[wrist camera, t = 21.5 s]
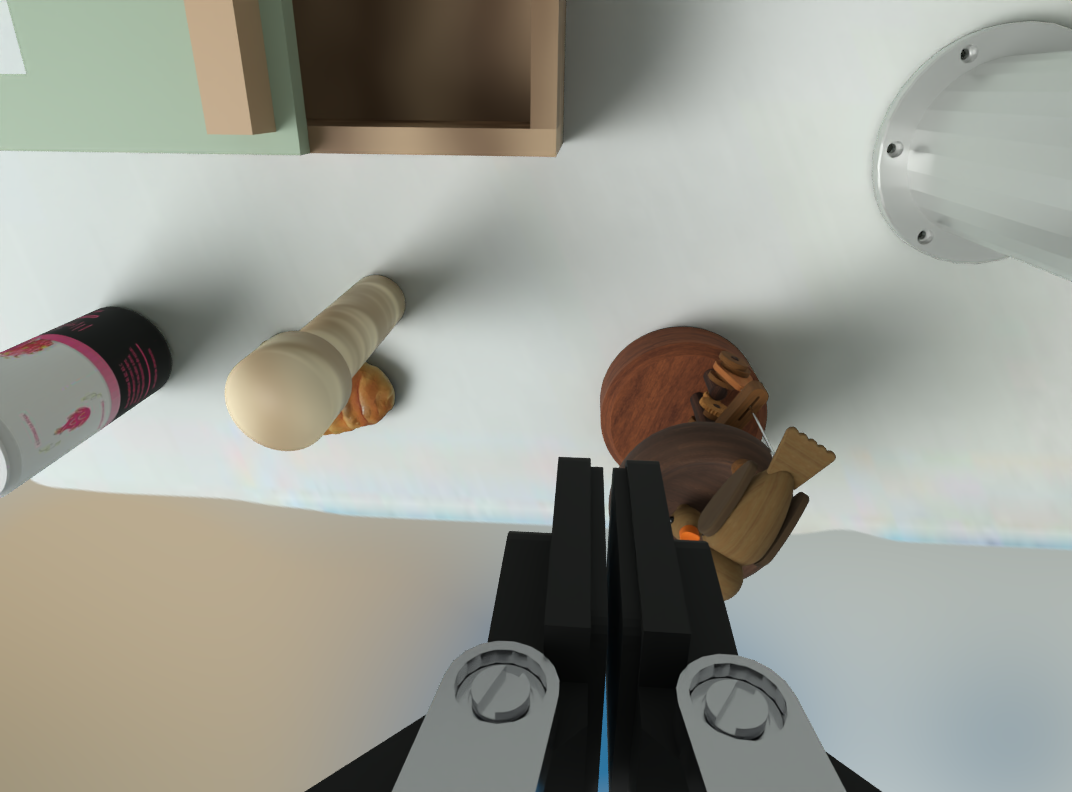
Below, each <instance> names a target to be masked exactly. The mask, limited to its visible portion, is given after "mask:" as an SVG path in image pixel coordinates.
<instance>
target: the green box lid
mask: <svg viewBox="0 0 1072 792" xmlns="http://www.w3.org/2000/svg"><path fill="white" fill-rule="evenodd" d="M7 4H8V7H9V11H10V15H11V18H12V22H13V26H14V30H15V33H16V37H17V41H18V44H19V48H20V52H21V56H22V59H23V63H24V67H25V70H26V74H0V151H58V152H123V153H187V154H251V155H304V154H308V153H310V147H309V139H308V130H307V122H306V114H305V105H304V97H303V89H302V80H301V72H300V64H299V55H298V47H297V39H296V30H295V22H294V14H293V5H292V0H7Z"/></svg>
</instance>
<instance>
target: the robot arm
mask: <svg viewBox="0 0 1072 792" xmlns="http://www.w3.org/2000/svg"><path fill="white" fill-rule="evenodd" d="M962 50H964V51H965V57H964V58H963V59H962V60H961V52H962ZM889 144H892V145H893V149H892V151H891V152H890V153H887V148H888V146H889ZM872 180H873V187H874V194H875V198H876V201H877V203H878V206H879V209H880V211H881V214H882V216H883V217H884V219H885V220H886V222H887V223H888V225H889V226H890V228H891V230H892V231H893V232H894V233H896V234H897V235H898V236H899V237H900V238H901V239H902V240H903V241H904V242H905V243H906V244H908V245H910V246H911V247H913V248H915V249H917V250H918V251H920V252H922V253H924V254H926V255H929V256H931V257H933V258H936V259H939V260H944V261H948V262H953V263H967V264H979V263H985V262H992V261H999V260H1002V259H1005V258H1008V257H1012V258H1014V259H1017V260H1019V261H1022V262H1024V263H1027V264H1029V265H1032V266H1034V267H1037V268H1039V269H1041V270H1044V271H1046V272H1049V273H1051V274H1054V275H1056V276H1059V277H1061V278H1064V279H1066V280H1069V281H1071V282H1072V29H1070V28H1067V27H1064V26H1061V25H1059V24H1056V23H1047V22H1038V21H1025V22H1014V23H1006V24H1001V25H997V26H992V27H987V28H984V29H982V30H979V31H977V32H974V33H972V34H969V35H966V36H964V37H962V38H960V39H958V40H957V41H955V42H953V43H952V44H950V45H948V46H947V47H945V48H943V49H942V50H940V51H939V52H938V53H936V54H935V55H934V56H933V57H932V58H930V59H929V60H928V61H927V62H926V63H924V64H923V65H922V66H921V67H920V68H919V69H918V70H917V71H916V72H915V73H914V74H913V75H912V77H911V78H910V79H909V80H908V81H907V82H906V83H905V85H904V86H903V87H902V88H901V90H900V91H899V93H898V94H897V96H896V98H895V99H894V101H893V102H892V104H891V105H890V107H889V109H888V111H887V113H886V115H885V118H884V120H883V122H882V125H881V127H880V129H879V132H878V136H877V140H876V144H875V148H874V152H873V165H872ZM921 231H923V234H922V236H921V237H920V238H918V235H919V233H920V232H921ZM605 540H606V539H605V509H604V480H603V467H591V459H590V458H572V457H559V459H558V470H557V481H556V493H555V505H554V516H553V528H552V533H536V532H516V531H509V533H508V536H507V541H506V546H505V552H504V557H503V562H502V568H501V574H500V578H499V584H498V589H497V595H496V600H495V606H494V611H493V616H492V621H491V627H490V633H489V638H488V643H483V644H480V645H477V646H475V647H473V648H471V649H468V650H466V651H465V652H463V653H462V654H461V655H460V656H459V657H457V658H456V659H455V660H453V662H452V663H451V665H450V666H449V668H448V669H447V671H446V673H445V674H444V676H443V678H442V681H441V683H440V685H439V687H438V689H437V692H436V694H435V696H434V698H433V701H432V703H431V705H430V707H429V709H428V712H427V714H426V715H425V716H423V717H422V718H420V719H418V720H417V721H415V722H414V723H413V724H411V725H409V726H407V727H406V728H404V729H403V730H401V731H400V732H398V733H397V734H395V735H393V736H392V737H390V738H388V739H387V740H386V741H384V742H382V743H381V744H379V745H378V746H376V747H374V748H373V749H371V750H370V751H368V752H367V753H365V754H363V755H362V756H360V757H359V758H357V759H356V760H354V761H352V762H351V763H349V764H348V765H346V766H344V767H343V768H341V769H340V770H338V771H337V772H335V773H334V774H332V775H330V776H329V777H327V778H326V779H324V780H322V781H321V782H319V783H318V784H316V785H314V786H313V787H311V788H310V789H308V790H307V791H305V792H598V779H599V764H600V749H601V734H602V719H603V704H604V689H605V675H606V696H607V697H606V699H607V737H608V771H609V772H608V773H609V792H881V791H880V790H879V789H877V788H876V787H874V786H873V785H872V784H870V783H869V782H868V781H866V780H864V779H863V778H862V777H860V776H859V775H858V774H856V773H855V772H853V771H852V770H851V769H849V768H848V767H846V766H845V765H844V764H842V763H841V762H839V761H838V760H836V759H835V758H834V757H832V756H831V755H830V754H828V753H827V752H825V750H824V748H823V746H822V744H821V742H820V741H819V739H818V737H817V735H816V733H815V731H814V729H813V727H812V725H811V723H810V721H809V720H808V718H807V716H806V714H805V712H804V710H803V708H802V706H801V704H800V702H799V701H798V698H797V697H796V695H795V694H794V692H793V691H792V689H791V688H790V687H789V686H788V684H787V683H786V681H785V680H783V679H782V678H781V677H780V676H779V675H777V674H776V673H775V672H774V671H772V670H771V669H770V668H768V667H766V666H764V665H762V664H760V663H758V662H756V661H755V660H751V659H748V658H744V657H741V656H738V653H737V649H736V645H735V641H734V638H733V634H732V630H731V626H730V622H729V619H728V615H727V611H726V607H725V603H724V599H723V595H722V592H721V588H720V584H719V580H718V576H717V573H716V569H715V565H714V561H713V557H712V553H711V550H710V547H709V544H708V542H706V541H696V540H676V539H674V538H673V533H672V527H671V522H670V517H669V511H668V506H667V500H666V495H665V490H664V484H663V479H662V474H661V468H660V463H659V461H642V460H626V462H625V468H613V473H612V488H611V504H610V520H609V536H608V552H607V567H606V541H605Z"/></svg>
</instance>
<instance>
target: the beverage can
mask: <svg viewBox="0 0 1072 792" xmlns="http://www.w3.org/2000/svg"><path fill="white" fill-rule="evenodd" d="M171 368H172V359H171V353H170V349H169V347H168V344H167V342H166V340H165V338H164V337H163V335H162V334H161V332H160V331H159V330H158V329H157V328H156V327H155V326H154V325H153V324H152V323H151V322H150V321H149V320H148V319H146V318H145V317H143V316H142V315H140V314H138V313H136V312H134V311H131V310H129V309H125V308H120V307H105V308H100V309H98V310H95V311H93V312H91V313H88V314H86V315H84V316H82V317H79V318H77V319H75V320H73V321H70V322H68V323H66V324H64V325H61V326H59V327H57V328H55V329H52V330H50V331H48V332H46V333H43V334H41V335H39V336H37V337H34V338H32V339H30V340H28V341H25V342H23V343H21V344H19V345H16V346H14V347H12V348H10V349H7V350H5V351H3V352H1V353H0V498H1V497H4V496H5V495H7V494H9V493H10V492H11V491H13V490H14V489H16V488H17V487H18V486H20V485H22V484H23V483H24V482H25V481H27V480H29V479H30V478H32V477H33V476H35V475H36V474H37V473H39V472H40V471H42V470H43V469H45V468H46V467H48V466H49V465H50V464H52V463H53V462H55V461H56V460H58V459H59V458H61V457H62V456H63V455H65V454H66V453H68V452H69V451H71V450H72V449H74V448H75V447H76V446H78V445H79V444H81V443H82V442H84V441H85V440H87V439H88V438H89V437H91V436H92V435H94V434H95V433H97V432H98V431H100V430H101V429H102V428H104V427H105V426H107V425H108V424H110V423H111V422H113V421H114V420H115V419H117V418H118V417H120V416H121V415H123V414H124V413H125V412H127V411H128V410H130V409H131V408H133V407H134V406H136V405H137V404H138V403H140V402H141V401H143V400H144V399H146V398H147V397H149V396H150V395H151V394H153V393H154V392H156V391H157V390H159V389H160V388H161V387H162V386H163V385H164V384H165V383H166V381H167V380H168V378H169V376H170V373H171Z"/></svg>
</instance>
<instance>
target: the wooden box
mask: <svg viewBox="0 0 1072 792" xmlns="http://www.w3.org/2000/svg"><path fill="white" fill-rule="evenodd" d="M292 5H293V14H294V22H295V30H296V39H297V47H298V55H299V64H300V72H301V80H302V89H303V97H304V105H305V114H306V122H307V130H308V139H309V147H310V153H343V154H408V155H473V156H539V157H556V155H557V154H558V152H559V150H560V148H561V146H562V144H563V115H564V72H565V28H566V0H292Z"/></svg>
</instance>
